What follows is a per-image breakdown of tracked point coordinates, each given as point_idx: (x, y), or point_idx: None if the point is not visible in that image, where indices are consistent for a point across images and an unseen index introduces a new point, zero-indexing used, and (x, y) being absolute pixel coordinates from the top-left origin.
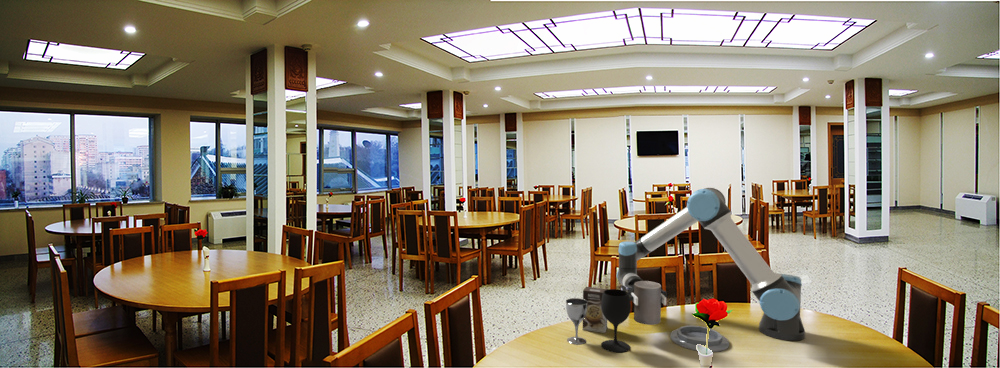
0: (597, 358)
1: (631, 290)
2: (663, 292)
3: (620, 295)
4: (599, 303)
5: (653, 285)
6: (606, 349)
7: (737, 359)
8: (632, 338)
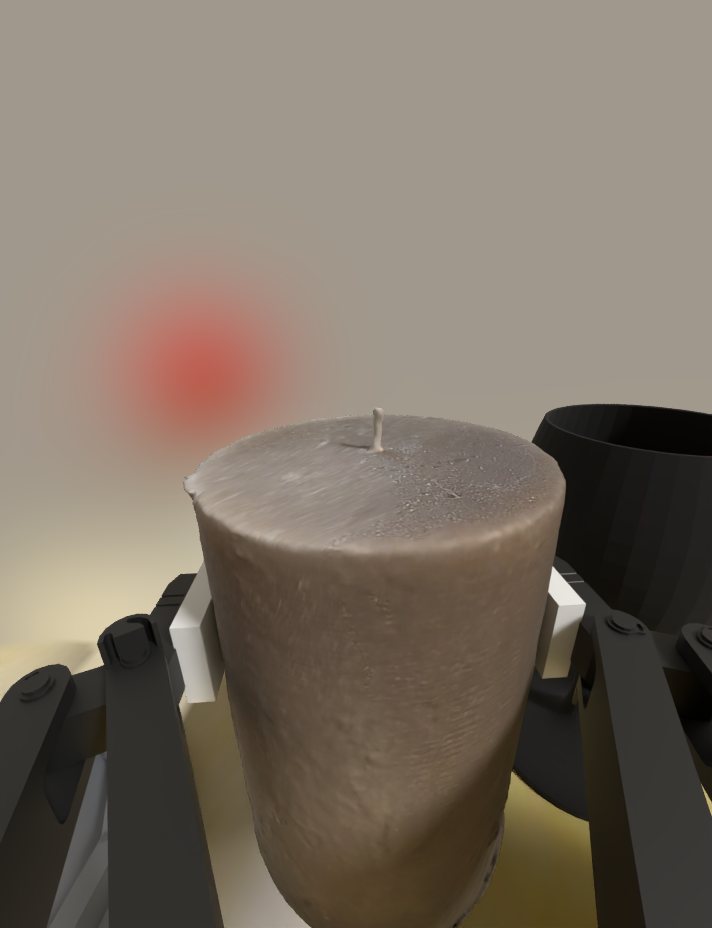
0: None
1: (646, 748)
2: (69, 696)
3: (650, 514)
4: None
5: (314, 437)
6: None
7: (49, 643)
8: (490, 910)
